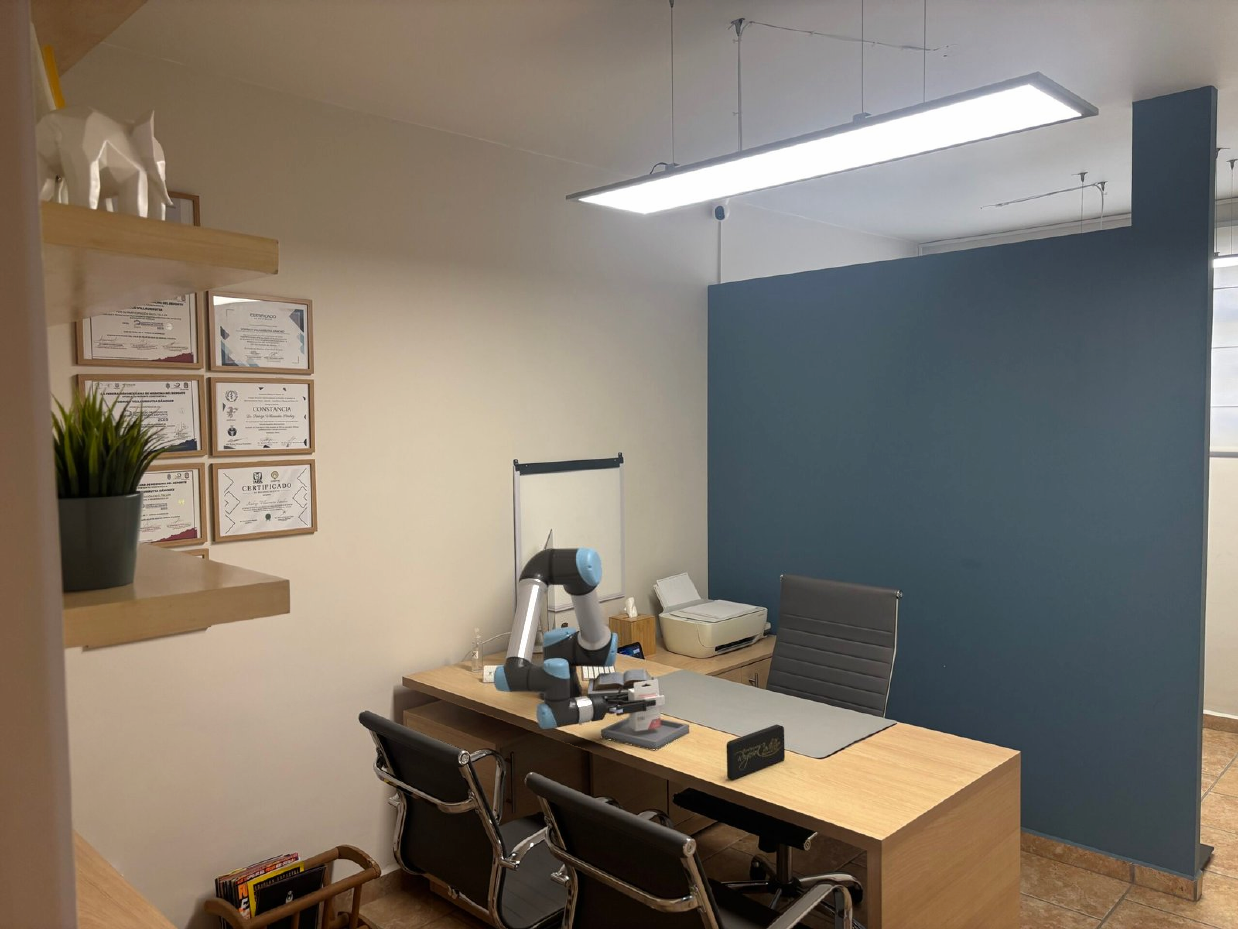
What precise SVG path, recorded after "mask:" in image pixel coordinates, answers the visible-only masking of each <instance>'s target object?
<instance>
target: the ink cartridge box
mask: <svg viewBox="0 0 1238 929" xmlns="http://www.w3.org/2000/svg"><path fill="white" fill-rule="evenodd" d="M658 682H659V679H658V680H657V679H656V680H649V681H642V682H636V683H634V689H628V700H629V701H633V700H644V698H649V697H656V696H661V695H659V689H660V685H659V686H658ZM645 684H650V686H648V687H642V685H645ZM628 717H629V724H630V728H632V729H633V730H635V731H641V730H647V729H653V728H659V727H661V720H660V719H661V705H660V706H654V707H648V708H647V710H646V711H641V712H635V713H628Z"/></svg>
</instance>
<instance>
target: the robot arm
mask: <svg viewBox="0 0 1238 929" xmlns="http://www.w3.org/2000/svg"><path fill="white" fill-rule="evenodd" d="M600 557H601V556H600V555H599V553H598V551H597V550H595V549H593V548H587V547H586V548H585V547H579V548H578V547H576V548H575V547H574V548H573V547H571V548H568V547H567V548H554V547H553V548H550V547H549V548H546V549H543V550H540V551H539V552H537V553H536V554H534V555H533V556H532V557H531V558H530V559H529V560H528V562H527V563H525V566H524V567H523V568H522V571H521V573H520V575H519V578H518V581H517V587H518V590H519V593H518V599H517V603H516V608H515V613H514V619H513V622H512V626H511V627H512V629H511V633H510V636H509V637H510V638H509V643H508V646H507V653H506V657H505V662H504V664H502V665H501V664H500V665H497V666H496V668H495V670H494V673H493V685H494V688H495V689H496V691H499V692H506V693H539V694H538V695H539V699H542V700H543V701H542V702H540V703H538V704H537V705H536V711H535V712H536V713H535V714H536V721H537V723H538V726H539V727H540V729H542V730H546V729H547V730H548V729H558V728H562V727H567V726H568V727H569V726H573V725H579V726H582V725H583V724H585V723H590V722H591V723H592V722H599V721H603V720H605V717H606V714H609V715H614V714H615V715H616V716H617V717H619V716H624V715H626V714H628V715H629V713H635V712H641V711H646V710H647V708H648V707H654V706H660V707H661V706H665V705H666V700H665V698H666V697H665V695H663V694H662V695H660V696H656V697H649V698H644V700H633V701H629V700H628V692H626V693H620V694H614V695H606V696H601V695H599V694H596V695H590V696H588V695H584V696H583V687H582V684H581V682H580V677H579V676H578V670H577V667H590V668H607V667H608V668H611V667H613V666H614V665H615V664H616V660H617V655H618V654H617V653H618V646H619V645H618V644H619V642H618V641H619V639H618V638H619V637H618V634H617V633H616V632H614V631H613V632H612V631H611V629H610V628H609V627H608V626H607V625H606V624H605V622H604V617H603V613H602V609H601V605H600V600H599V597H598V592H597V587H598V585H599V584H600V583H601V581H602V577H603V568H602V560H601V558H600ZM550 586H562V588H563V590H564V591H565V592H566V593H567V594H568V595H569V596H570V599H571V602H572V606H573V609H574V614H575V617H576V621H577V624H578V628H579V631H577V630H576V628H575V627H571V626H566V627H565V626H564V627H560V628H559V627H558V628H554V629H551V630H548V631H545V633H544V634H543V636H542V662H543V663H542V665H531V664H532V657H533V653H534V647H535V643H536V638H537V637H536V636H537V631H538V626H539V622H540V616H541V610H542V606H543V600H544V596H545V595H546V594H547V592H548V590H549V587H550Z"/></svg>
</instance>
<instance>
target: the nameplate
mask: <svg viewBox="0 0 1238 929" xmlns="http://www.w3.org/2000/svg"><path fill="white" fill-rule="evenodd" d="M785 750H786V749H785V726H783V725H779V724H777V723H776V724H773V725H771V726H768V727H765V728H763V729H760V730H756V731H754V732H751V733H748V734H746V735H745V734H744V735H742V736H740V737H736V738H734V739H732V740H729V741H727V743H726V773H727V774H726V776H727V777H726V778H728V779H729V780H732V781H737V780H739V779H742V778H744V777H747V776H749V775H751V774H754V773H757V772H759V771H763V770H764V769H767V768H770V767H772V766H774V765H777V764H780V763H782V762H784V761H785V757H786V756H785V755H786V751H785Z"/></svg>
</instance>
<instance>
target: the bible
mask: <svg viewBox="0 0 1238 929" xmlns="http://www.w3.org/2000/svg"><path fill="white" fill-rule="evenodd" d="M656 679H657V680H658V686H659V687H660V683H659V676H651V675H650V674H649V672H648V671H647V669H645V668H639V669H638V668H637V669H627V670H625V672H624V673H623V672H622V673H621V672H619V671H612V672H600V673H599V674H598V675H597V676H596V678H595V677H594V678H589V680H588V686H587V691H586V692H587V693H586V696H587V697H588V696H590V695H596V694H599V695H601V696H606V695H614V694H620V693H626V692H628V689H634V683H636V682H642V681H649V680H656ZM648 686H650V684H645V685H642V687H648ZM660 693H661V690H660V688H659V695H660ZM660 696H661V695H660Z"/></svg>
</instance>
